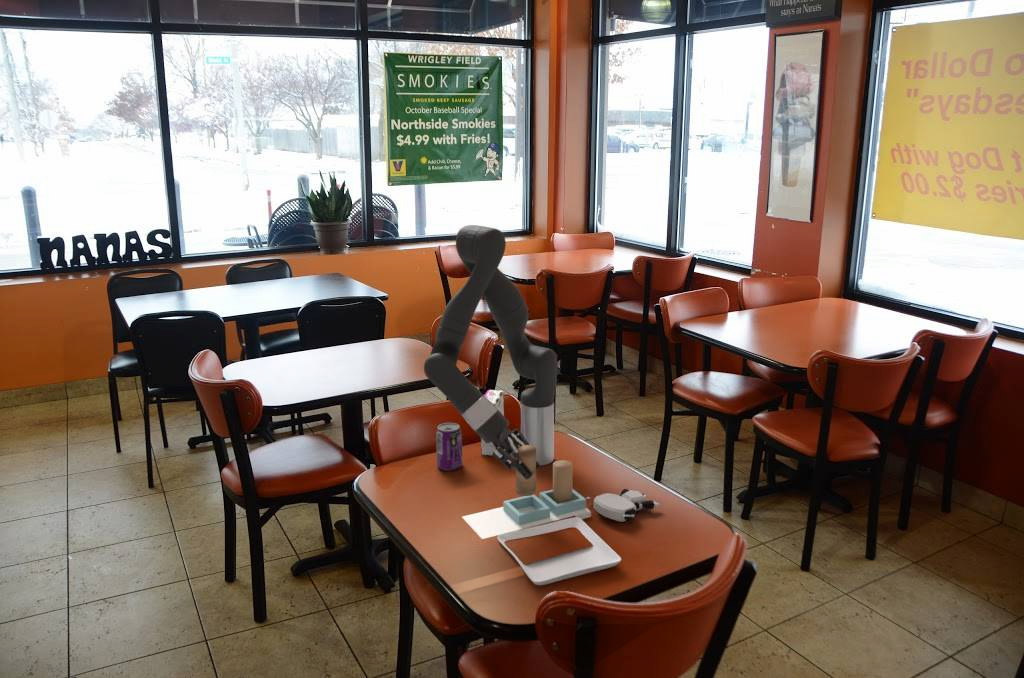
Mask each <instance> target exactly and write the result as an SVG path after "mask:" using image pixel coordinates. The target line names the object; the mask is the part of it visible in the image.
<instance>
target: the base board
mask: <svg viewBox="0 0 1024 678" xmlns="http://www.w3.org/2000/svg"><path fill="white" fill-rule="evenodd" d="M573 469H574V468H573V463H572V462H571V461H570V460H566V459H565V460H564V459H560V460H556V461H555V460H554V462H553V463H552V489H549V490H544V491H541V492H539V494H538V495H539V497H538V496H537V495H536V494H534V495H531V496H519V497H516V498H512V499H508V500H504V501H503V502H502V504H503V505H502V506H501V507H496V508H492V509H489V510H484V511H479V512H477V513H471V514H467V515H463V516H461V518H462V519H463V520H464V521H465V522H466V523H467V525H468V526H470V528H471V530H473V531H474V532H475V533H476V534H477V536H478V537H479V538H480V539H481V540H484V539H485V540H486V539H489V538H492V537H498V536H499V535H502V534H506V533H510V532H514V531H519V530H523V529H527V528H531V527H535V526H540V525H544V524H548V523H552V522H557V521H561V520H565V519H569V518H572V517H574V516H575V517H579V518H580V519H582V520H584V519H588V518H591V516H592V512H591V510H590V509H588V508H587V498H585V497H584V496H583V495H581V494H580V493H579V492H577V491H576V490H575V489H574V488H573Z"/></svg>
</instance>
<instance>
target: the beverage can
mask: <svg viewBox="0 0 1024 678" xmlns="http://www.w3.org/2000/svg"><path fill="white" fill-rule="evenodd" d="M462 435H463V432H462V430H461V427H460V424H458V423H455V422H444V423H440V424H439V425H437V430H436V433H435V441H436V444H435V445H436V465H437V467H438V468H439V469H442V470H444V471H455V470H457V469H459V468H462V466H463V463H464V462H463V437H462Z"/></svg>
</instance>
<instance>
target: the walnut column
mask: <svg viewBox="0 0 1024 678" xmlns="http://www.w3.org/2000/svg"><path fill="white" fill-rule="evenodd" d="M516 449H517V451H518V456H519V457H520V459H521V460H522V463H524V464H525V465H526V466H527V467H528V468H529V469H530V470H531V471H532V472H533V475H532V476H531V477H530V478H529V479H525V478H524V477H523V476H522V475H521V473H520V472H519V471H518V470H517V469H515V493H516V495H518V496H520V497H523V496H531V495H536V492H537V469H536V448H535V447H534V446H530V445H522V446H518V447H517V448H516Z"/></svg>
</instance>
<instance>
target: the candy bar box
mask: <svg viewBox="0 0 1024 678" xmlns="http://www.w3.org/2000/svg"><path fill="white" fill-rule="evenodd" d="M483 396H485V397H486V398H487V399H488V400H489V401H491V402H492V404H493V405H494V406H495V407H496V408H497V409H498V410H499V411H500V412H501V413H502V415H503V416H504V417H505V412H504V411H505V409H504V390H500V389H488V390H487V391H486V392H485V394H483ZM495 450H496V448H495V446H494V445H493V443H492V442H490V443H488V444H487V443H485V442H484V441H483V440H482V438H481V437H480V451H481V452H480V453H481V456H486V455H488V456H490V457H494V456H493V454H492V453H493V452H494V451H495Z"/></svg>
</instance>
